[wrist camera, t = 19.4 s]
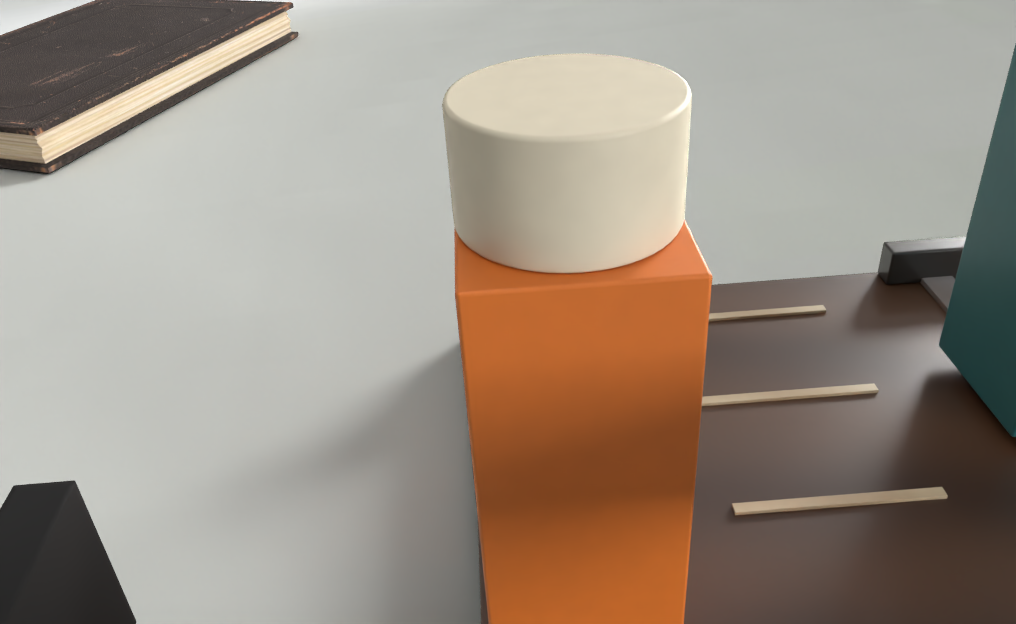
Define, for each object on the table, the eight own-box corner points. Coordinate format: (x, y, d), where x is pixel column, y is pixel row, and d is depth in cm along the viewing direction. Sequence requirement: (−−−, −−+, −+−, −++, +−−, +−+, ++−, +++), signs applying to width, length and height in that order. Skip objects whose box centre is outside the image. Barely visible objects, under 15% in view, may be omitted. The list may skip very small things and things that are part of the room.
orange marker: (680, 681, 17) (725, 134, 11) (495, 697, 17) (440, 155, 11) (641, 525, 20) (661, 40, 14) (488, 537, 20) (442, 55, 14)
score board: (1634, 998, 13) (1746, 923, 12) (501, 1100, 13) (490, 1035, 12) (974, 294, 30) (992, 231, 29) (472, 332, 30) (466, 270, 29)
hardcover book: (298, 36, 61) (292, 2, 60) (50, 174, 43) (33, 129, 42) (112, 26, 66) (102, -6, 65) (-180, 146, 48) (-201, 105, 47)
